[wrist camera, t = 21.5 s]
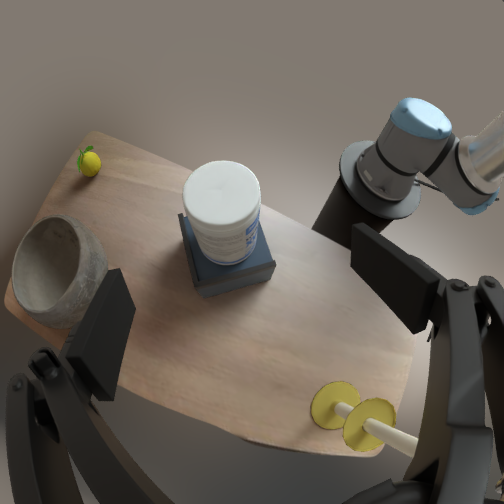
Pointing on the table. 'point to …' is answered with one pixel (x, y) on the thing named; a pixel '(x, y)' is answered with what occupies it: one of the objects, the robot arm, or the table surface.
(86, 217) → the table surface
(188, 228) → the blue storage bin
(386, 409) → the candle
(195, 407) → the table surface
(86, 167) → the lemon
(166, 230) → the table surface
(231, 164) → the supplement tub
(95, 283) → the bowl
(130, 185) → the table surface
